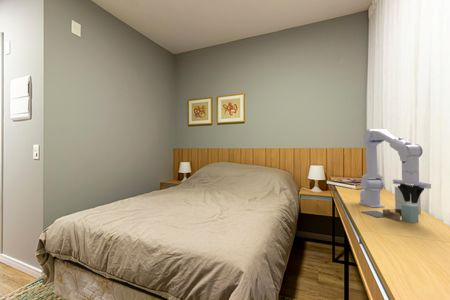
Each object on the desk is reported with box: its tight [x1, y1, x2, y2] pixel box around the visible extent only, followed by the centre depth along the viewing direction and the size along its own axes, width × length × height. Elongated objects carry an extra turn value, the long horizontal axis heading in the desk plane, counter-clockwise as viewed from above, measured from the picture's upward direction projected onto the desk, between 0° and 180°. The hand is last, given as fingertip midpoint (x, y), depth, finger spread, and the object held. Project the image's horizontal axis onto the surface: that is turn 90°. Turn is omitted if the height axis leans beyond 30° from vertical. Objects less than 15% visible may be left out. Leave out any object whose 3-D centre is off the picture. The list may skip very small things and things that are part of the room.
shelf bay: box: [382, 208, 402, 222], centre depth 96 cm, size 8×10×3 cm
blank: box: [401, 204, 420, 223], centre depth 92 cm, size 4×4×7 cm
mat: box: [360, 210, 388, 219], centre depth 101 cm, size 9×9×1 cm
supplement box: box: [394, 185, 422, 214], centre depth 107 cm, size 7×7×13 cm
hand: (410, 202), depth 91 cm, fingers open, 2 cm apart
